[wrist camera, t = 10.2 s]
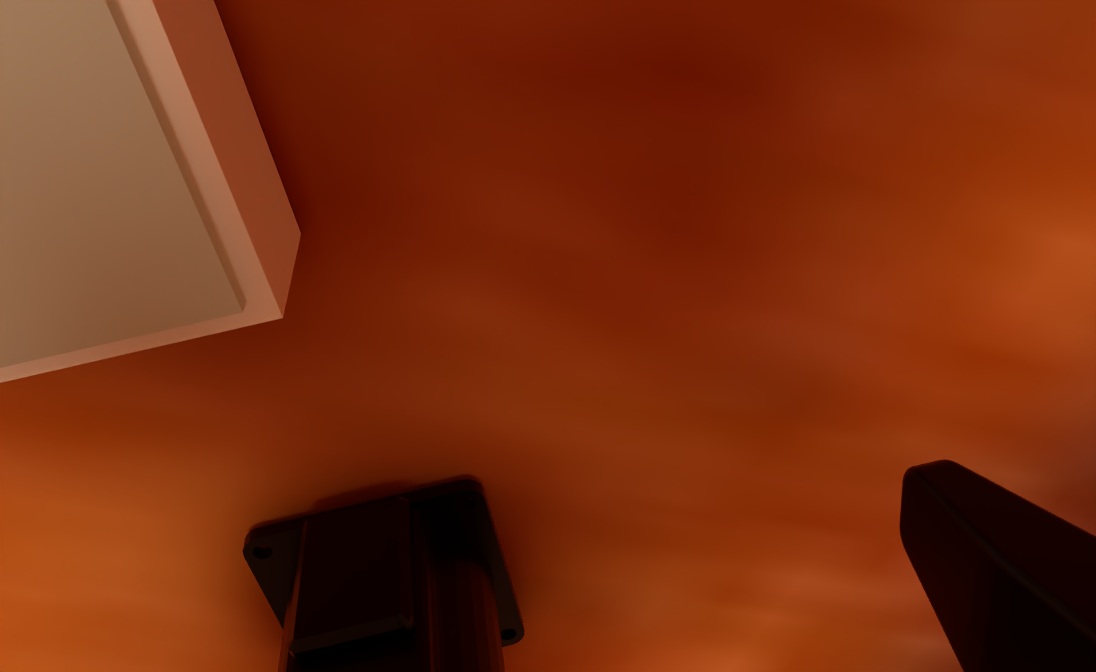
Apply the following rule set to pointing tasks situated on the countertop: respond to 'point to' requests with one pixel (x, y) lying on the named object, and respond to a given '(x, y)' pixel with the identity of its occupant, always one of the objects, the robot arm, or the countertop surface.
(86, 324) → the stand
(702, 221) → the countertop surface
